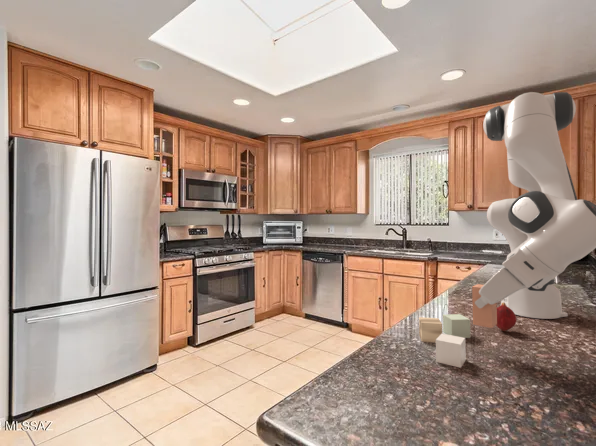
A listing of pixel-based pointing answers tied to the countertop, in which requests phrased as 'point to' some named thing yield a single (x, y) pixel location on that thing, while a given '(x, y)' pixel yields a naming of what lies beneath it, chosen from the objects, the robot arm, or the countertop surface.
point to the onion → (505, 317)
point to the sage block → (456, 325)
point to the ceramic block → (450, 350)
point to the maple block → (429, 329)
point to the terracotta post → (483, 310)
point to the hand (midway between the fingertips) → (481, 303)
